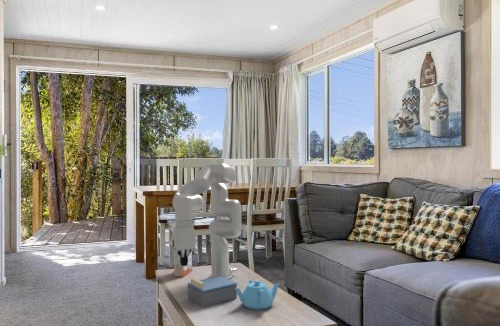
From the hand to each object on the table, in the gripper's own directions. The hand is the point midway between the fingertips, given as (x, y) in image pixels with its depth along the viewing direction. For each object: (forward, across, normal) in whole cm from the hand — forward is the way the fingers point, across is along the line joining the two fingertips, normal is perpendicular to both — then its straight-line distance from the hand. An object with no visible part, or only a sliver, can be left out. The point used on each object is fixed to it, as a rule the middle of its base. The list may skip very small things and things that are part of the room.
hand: (184, 265), depth 184 cm
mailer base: (+18, -15, 0) cm, 23 cm away
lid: (+11, -15, 0) cm, 18 cm away
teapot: (+18, -26, +20) cm, 37 cm away
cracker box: (+17, -24, -46) cm, 55 cm away
